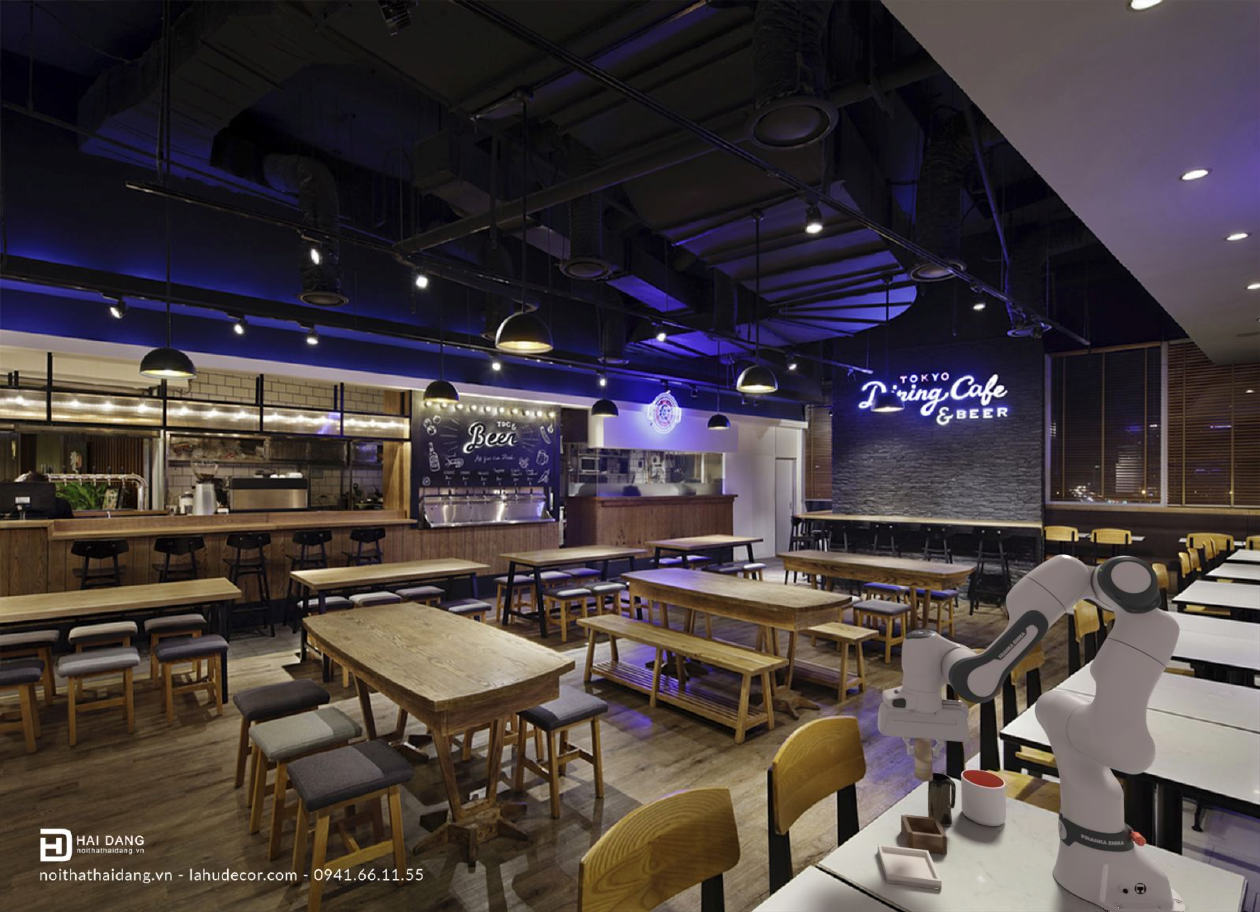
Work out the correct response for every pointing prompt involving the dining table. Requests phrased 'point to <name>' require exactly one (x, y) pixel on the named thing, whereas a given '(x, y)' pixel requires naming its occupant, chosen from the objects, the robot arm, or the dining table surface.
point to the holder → (924, 834)
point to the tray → (909, 867)
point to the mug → (941, 798)
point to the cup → (983, 797)
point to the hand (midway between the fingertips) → (923, 755)
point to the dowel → (923, 759)
